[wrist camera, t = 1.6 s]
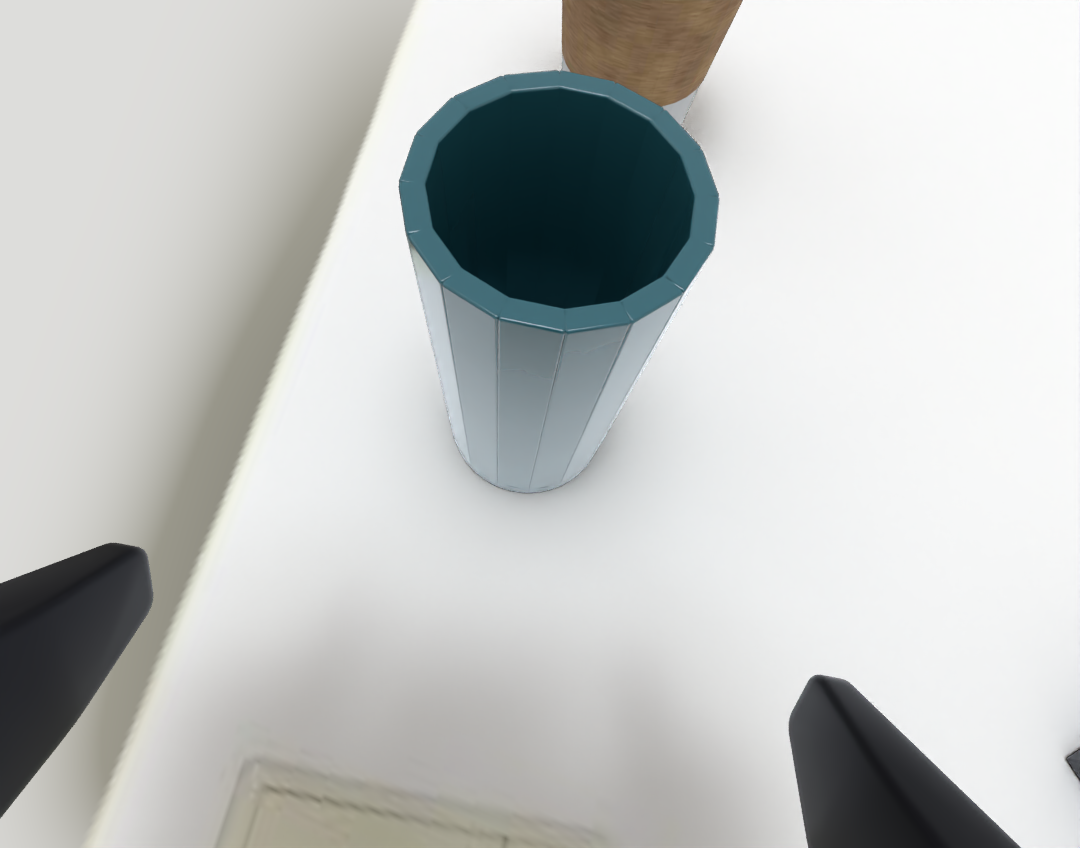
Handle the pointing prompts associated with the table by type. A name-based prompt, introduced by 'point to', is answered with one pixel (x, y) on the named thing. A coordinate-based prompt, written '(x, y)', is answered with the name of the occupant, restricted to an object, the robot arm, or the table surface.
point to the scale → (1075, 762)
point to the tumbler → (550, 261)
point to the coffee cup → (647, 44)
